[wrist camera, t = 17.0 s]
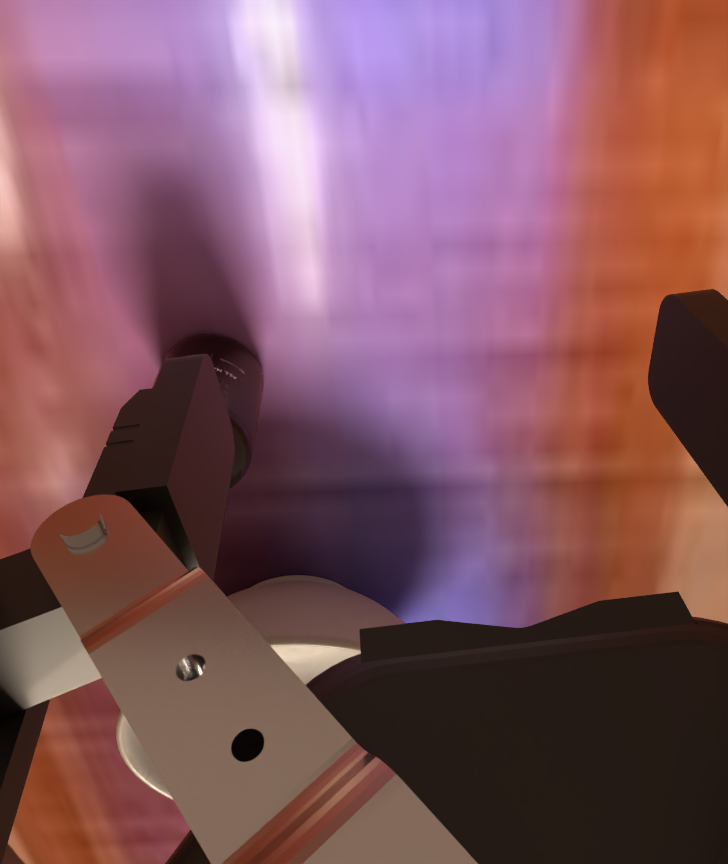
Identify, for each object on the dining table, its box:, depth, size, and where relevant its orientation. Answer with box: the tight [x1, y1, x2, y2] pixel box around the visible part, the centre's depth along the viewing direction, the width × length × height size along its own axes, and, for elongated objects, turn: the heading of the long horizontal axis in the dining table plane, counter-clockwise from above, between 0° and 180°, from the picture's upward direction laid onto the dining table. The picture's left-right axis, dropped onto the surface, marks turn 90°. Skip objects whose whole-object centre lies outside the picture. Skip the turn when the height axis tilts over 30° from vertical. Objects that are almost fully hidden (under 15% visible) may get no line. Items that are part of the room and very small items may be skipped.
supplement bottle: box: [152, 334, 263, 488], centre depth 39 cm, size 7×7×12 cm
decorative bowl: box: [116, 575, 405, 800], centre depth 56 cm, size 27×27×12 cm
